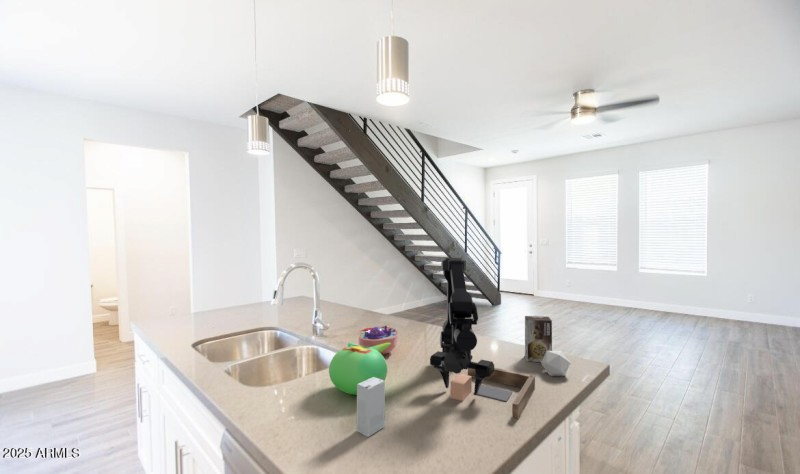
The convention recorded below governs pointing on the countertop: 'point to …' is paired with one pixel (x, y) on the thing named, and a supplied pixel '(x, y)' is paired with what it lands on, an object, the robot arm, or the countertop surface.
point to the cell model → (378, 337)
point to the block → (461, 387)
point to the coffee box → (537, 337)
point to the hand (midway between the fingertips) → (461, 391)
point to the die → (555, 363)
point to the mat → (494, 393)
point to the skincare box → (370, 406)
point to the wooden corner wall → (516, 380)
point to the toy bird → (357, 366)
